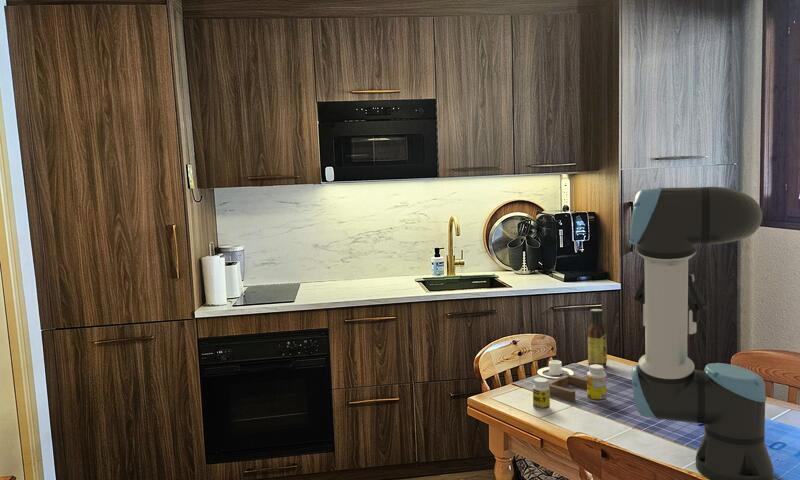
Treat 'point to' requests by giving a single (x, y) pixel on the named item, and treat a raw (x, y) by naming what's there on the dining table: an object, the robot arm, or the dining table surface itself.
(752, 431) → the robot arm
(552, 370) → the candle holder
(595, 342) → the sauce bottle
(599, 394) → the supplement bottle
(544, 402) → the supplement bottle
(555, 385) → the pocket
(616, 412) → the dining table surface
